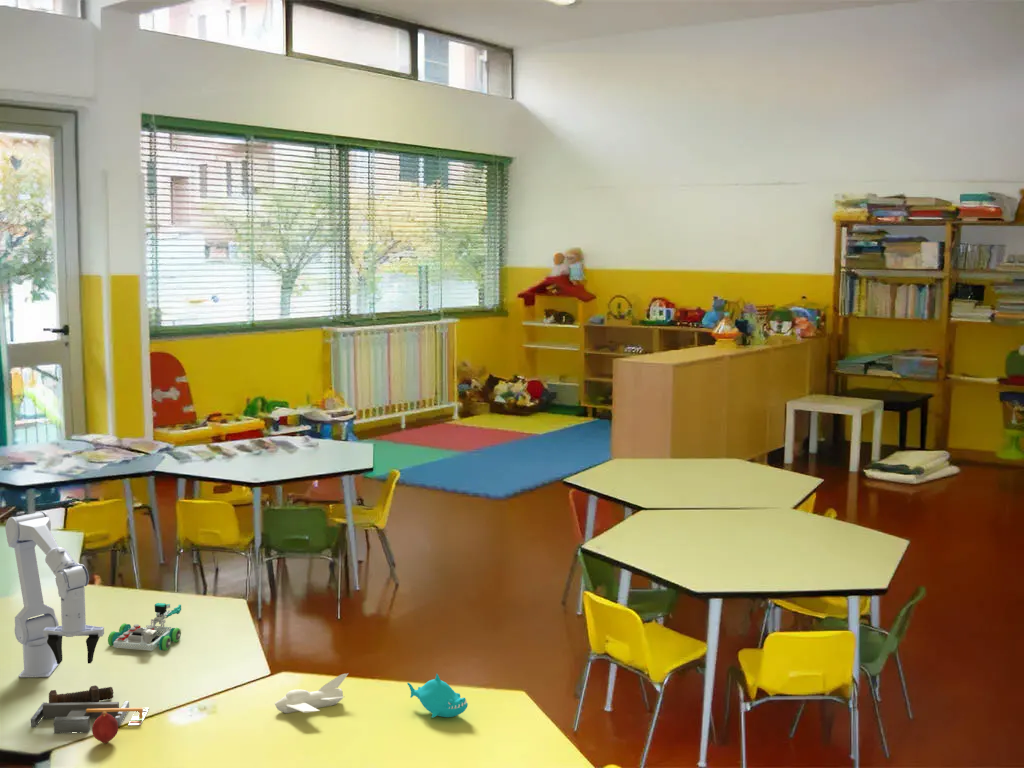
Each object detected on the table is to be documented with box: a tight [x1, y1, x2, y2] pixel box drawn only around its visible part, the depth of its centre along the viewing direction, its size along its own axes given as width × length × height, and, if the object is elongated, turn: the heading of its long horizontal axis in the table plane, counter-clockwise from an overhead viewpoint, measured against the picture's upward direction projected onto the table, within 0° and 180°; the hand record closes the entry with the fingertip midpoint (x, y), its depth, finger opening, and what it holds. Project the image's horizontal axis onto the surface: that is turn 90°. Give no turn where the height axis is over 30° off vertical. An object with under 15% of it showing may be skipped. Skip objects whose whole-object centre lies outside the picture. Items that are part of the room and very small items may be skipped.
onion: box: [91, 712, 119, 745], centre depth 248 cm, size 6×6×8 cm
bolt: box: [48, 685, 114, 703], centre depth 267 cm, size 6×5×15 cm
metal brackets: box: [30, 700, 150, 734], centre depth 259 cm, size 12×26×4 cm, turn 96°
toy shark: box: [407, 673, 469, 718], centre depth 268 cm, size 10×18×11 cm, turn 62°
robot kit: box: [107, 602, 182, 652], centre depth 311 cm, size 19×25×9 cm
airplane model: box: [274, 672, 349, 714], centre depth 270 cm, size 20×20×8 cm
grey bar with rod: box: [42, 701, 144, 720], centre depth 259 cm, size 6×24×4 cm, turn 96°
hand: (75, 662), depth 271 cm, fingers open, 7 cm apart
